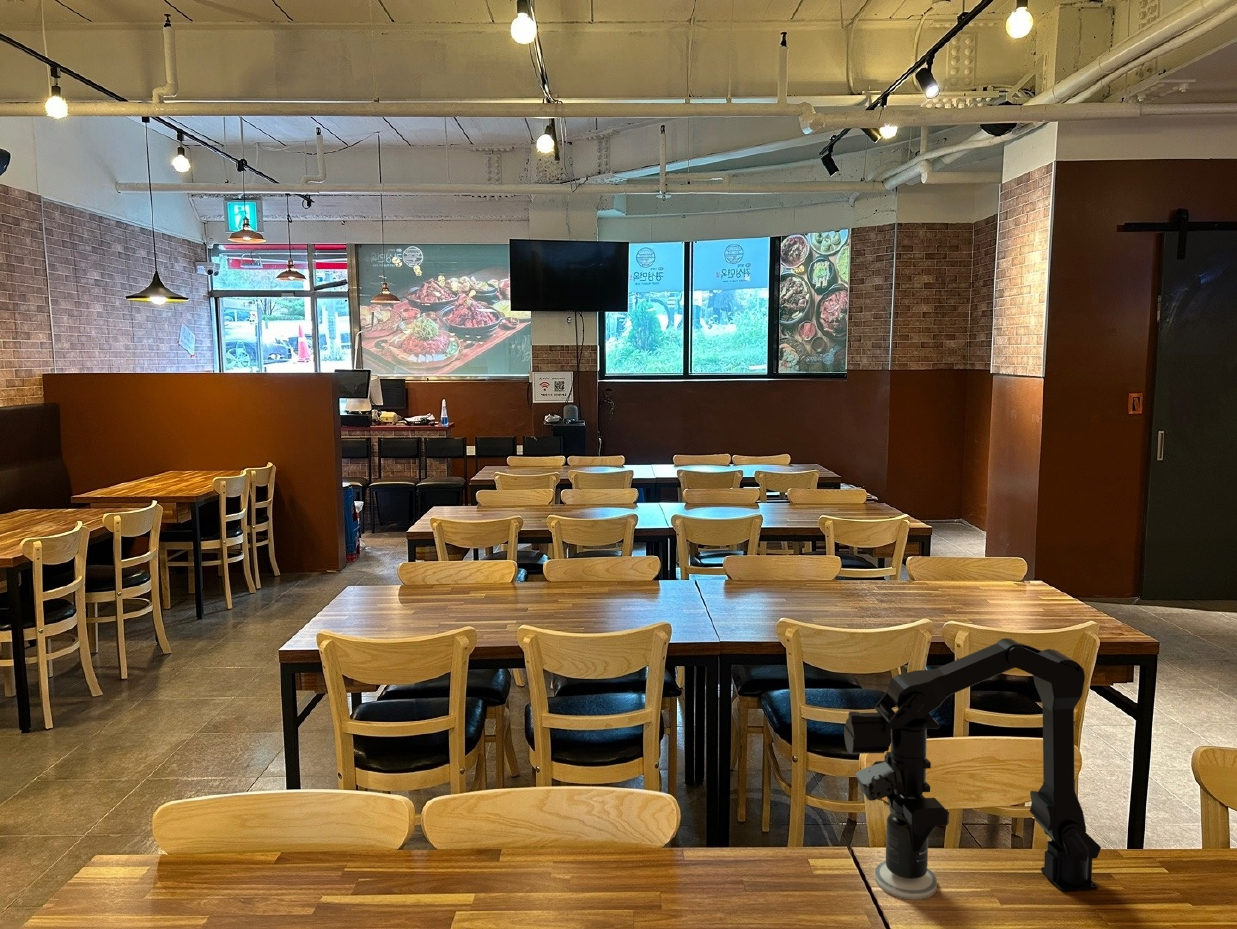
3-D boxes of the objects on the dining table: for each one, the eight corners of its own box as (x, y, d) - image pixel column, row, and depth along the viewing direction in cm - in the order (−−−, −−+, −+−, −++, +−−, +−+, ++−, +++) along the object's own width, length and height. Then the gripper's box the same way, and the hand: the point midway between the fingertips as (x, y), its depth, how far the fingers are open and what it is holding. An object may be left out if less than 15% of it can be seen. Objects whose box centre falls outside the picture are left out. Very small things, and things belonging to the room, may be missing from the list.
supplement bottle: (930, 882, 143) (931, 813, 142) (887, 878, 144) (888, 809, 143) (924, 860, 149) (925, 794, 148) (883, 856, 151) (884, 791, 150)
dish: (921, 864, 152) (921, 858, 152) (947, 898, 142) (947, 890, 142) (866, 867, 152) (866, 861, 151) (888, 901, 142) (888, 894, 141)
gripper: (843, 731, 154) (842, 815, 155) (883, 778, 135) (882, 873, 136) (903, 729, 154) (902, 812, 156) (951, 775, 136) (949, 869, 137)
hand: (906, 839), depth 146 cm, fingers closed on supplement bottle, 7 cm apart
